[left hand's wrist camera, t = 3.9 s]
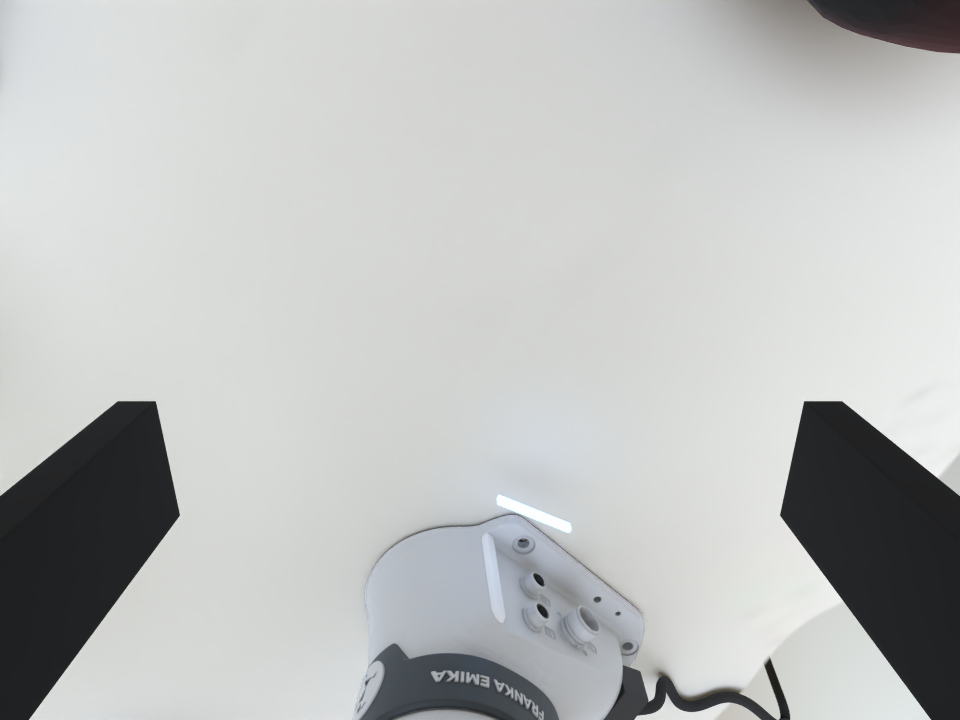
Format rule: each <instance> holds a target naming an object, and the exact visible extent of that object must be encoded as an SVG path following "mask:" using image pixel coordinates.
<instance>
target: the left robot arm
mask: <svg viewBox="0 0 960 720" xmlns="http://www.w3.org/2000/svg"><path fill="white" fill-rule="evenodd" d="M179 516H180V514H179V509H178V504H177V499H176V495H175V490H174V485H173V481H172V476H171V471H170V466H169V462H168V457H167V452H166V448H165V443H164V438H163V433H162V429H161V424H160V419H159V415H158V410H157V405H156V401H118V402H117V403H115V404H114V405H113V406H112V407H110V408H109V409H108V410H107V411H105V412H104V413H103V414H102V415H100V416H99V417H98V418H97V419H95V420H94V421H93V422H92V423H90V424H89V425H88V426H87V427H85V428H84V429H83V430H82V431H81V432H79V433H78V434H77V435H76V436H74V437H73V438H72V439H71V440H69V441H68V442H67V443H66V444H64V445H63V446H62V447H61V448H59V449H58V450H57V451H56V452H54V453H53V454H52V455H51V456H49V457H48V458H47V459H46V460H45V461H43V462H42V463H41V464H40V465H38V466H37V467H36V468H35V469H33V470H32V471H31V472H30V473H28V474H27V475H26V476H25V477H23V478H22V479H21V480H20V481H18V482H17V483H16V484H15V485H13V486H12V487H11V488H10V489H9V490H7V491H6V492H5V493H4V494H2V495H1V496H0V720H29V719H30V717H31V716H32V715H33V713H34V712H35V711H36V709H37V708H38V707H39V705H40V704H41V703H42V701H43V700H44V698H45V697H46V696H47V694H48V693H49V692H50V690H51V689H52V688H53V686H54V685H55V684H56V682H57V681H58V680H59V678H60V677H61V675H62V674H63V673H64V671H65V670H66V669H67V667H68V666H69V665H70V663H71V662H72V661H73V659H74V658H75V657H76V655H77V654H78V653H79V651H80V650H81V648H82V647H83V646H84V644H85V643H86V642H87V640H88V639H89V638H90V636H91V635H92V634H93V632H94V631H95V630H96V628H97V627H98V625H99V624H100V623H101V621H102V620H103V619H104V617H105V616H106V615H107V613H108V612H109V611H110V609H111V608H112V607H113V605H114V604H115V602H116V601H117V600H118V598H119V597H120V596H121V594H122V593H123V592H124V590H125V589H126V588H127V586H128V585H129V584H130V582H131V581H132V579H133V578H134V577H135V575H136V574H137V573H138V571H139V570H140V569H141V567H142V566H143V565H144V563H145V562H146V561H147V559H148V558H149V557H150V555H151V554H152V552H153V551H154V550H155V548H156V547H157V546H158V544H159V543H160V542H161V540H162V539H163V538H164V536H165V535H166V534H167V532H168V531H169V529H170V528H171V527H172V525H173V524H174V523H175V521H176V520H177V519H178V517H179ZM780 516H781V517H782V519H783V520H784V521H785V523H786V524H787V525H788V527H789V528H790V529H791V531H792V532H793V534H794V535H795V536H796V538H797V539H798V540H799V542H800V543H801V544H802V546H803V547H804V548H805V550H806V551H807V552H808V554H809V555H810V557H811V558H812V559H813V561H814V562H815V563H816V565H817V566H818V567H819V569H820V570H821V571H822V573H823V574H824V575H825V577H826V578H827V579H828V581H829V582H830V584H831V585H832V586H833V588H834V589H835V590H836V592H837V593H838V594H839V596H840V597H841V598H842V600H843V601H844V602H845V604H846V605H847V607H848V608H849V609H850V611H851V612H852V613H853V615H854V616H855V617H856V619H857V620H858V621H859V623H860V624H861V625H862V627H863V628H864V630H865V631H866V632H867V634H868V635H869V636H870V638H871V639H872V640H873V642H874V643H875V644H876V646H877V647H878V648H879V650H880V651H881V652H882V654H883V655H884V657H885V658H886V659H887V661H888V662H889V663H890V665H891V666H892V667H893V669H894V670H895V671H896V673H897V674H898V675H899V677H900V678H901V680H902V681H903V682H904V684H905V685H906V686H907V688H908V689H909V690H910V692H911V693H912V694H913V696H914V697H915V698H916V700H917V701H918V703H919V704H920V705H921V707H922V708H923V709H924V711H925V712H926V713H927V715H928V716H929V717H930V719H931V720H960V496H959V495H958V494H956V493H955V492H954V491H953V490H951V489H950V488H949V487H948V486H946V485H945V484H944V483H943V482H941V481H940V480H939V479H938V478H937V477H935V476H934V475H933V474H932V473H930V472H929V471H928V470H927V469H925V468H924V467H923V466H922V465H920V464H919V463H918V462H917V461H915V460H914V459H913V458H912V457H911V456H909V455H908V454H907V453H906V452H904V451H903V450H902V449H901V448H899V447H898V446H897V445H896V444H894V443H893V442H892V441H891V440H889V439H888V438H887V437H886V436H884V435H883V434H882V433H881V432H879V431H878V430H877V429H876V428H875V427H873V426H872V425H871V424H870V423H868V422H867V421H866V420H865V419H863V418H862V417H861V416H860V415H858V414H857V413H856V412H855V411H853V410H852V409H851V408H850V407H848V406H847V405H846V404H845V403H843V402H842V401H804V405H803V410H802V415H801V419H800V424H799V429H798V433H797V438H796V443H795V448H794V452H793V457H792V462H791V466H790V471H789V476H788V481H787V485H786V490H785V495H784V499H783V504H782V509H781V514H780Z"/></svg>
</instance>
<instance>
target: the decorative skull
mask: <svg viewBox="0 0 960 720" xmlns="http://www.w3.org/2000/svg"><path fill="white" fill-rule="evenodd" d="M808 2H809V3H810V4H811V5H812V6H813V7H814V8H815V9H816V10H817V11H818V12H819V13H820V14H821V15H822V16H823V17H824V18H826V19H828V20H829V21H831V22H833V23H835V24H837V25H838V26H840V27H842V28H845V29H847V30H850V31H853V32H855V33H858V34H861V35H865V36H868V37H872V38H876V39H879V40H883V41H887V42H891V43H895V44H899V45H903V46H907V47H913V48H918V49H924V50H929V51H935V52H946V53H960V0H808Z"/></svg>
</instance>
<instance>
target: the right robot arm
mask: <svg viewBox="0 0 960 720" xmlns="http://www.w3.org/2000/svg"><path fill="white" fill-rule="evenodd" d="M497 504H498V505H500V506H503V507H505V508H508V509H510V510H513V511H515V512H518V513H520V514H523V515H525V516H528V517H530V518H533V519H535V520H538V521H540V522H543V523H545V524H548V525H550V526H553V527H555V528H558V529H560V530H563V531H565V532H568V533H570V531H571V525H570V523H568V522H566V521H563V520H561V519H558V518H556V517H553V516H551V515H549V514H546V513H544V512H541V511H539V510H536V509H534V508H531V507H529V506H526V505H524V504H521V503H519V502H516V501H514V500H511V499H509V498H506V497H504V496H501V495H498V497H497ZM520 539H527V541H525V542H520V541H519V540H520ZM365 606H366V611H367V616H368V625H369V656H368V670H367V671H366V674H365V676H364V678H363V681H362V684H361V687H360V690H359V694H358V697H357V701H356V706H355V710H354V715H353V720H634V719H635V718H636V716H638V715H646V714H651V713H654V712H656V711H658V710H659V709H660V708H661V707H662V706H663V704H664V702H665V698H666V692H667V694H668V696H669V698H670V700H671V701H672V703H673V704H674V705H675V706H676V707H677V708H679V709H680V710H683V711H687V712H696V711H701V710H704V709H707V708H710V707H712V706H715V705H718V704H721V703H727V702H730V703H736V704H739V705H742V706H744V707H746V708H747V709H749V710H750V711H752V712H753V713H754V714H755V715H757V716H758V717H759V718H760V719H761V720H776V719H775V718H773V717H772V716H771V715H770V714H769V713H768V712H766V711H765V710H764V709H763V708H762V707H761V706H760V705H758V704H757V703H756V702H754V701H753V700H751V699H750V698H748V697H746V696H744V695H741V694H738V693H734V692H721V693H717V694H714V695H711V696H708V697H706V698H703V699H700V700H697V701H685V700H683V699H681V698H680V697H679V695H678V694H677V692H676V689H675V687H674V685H673V683H672V682H671V680H670V679H669V678H667V677H661V678H659V679H658V681H657V684H656V692H655V697H654V699H653V700H651V701H649V702H648V697H647V694H646V690H645V687H644V683H643V680H642V676H641V673H640V671H638V670H635V669H632V668H630V667H629V666H630V665H631V663H632V662H633V660H634V659H635V657H636V655H637V653H638V651H639V649H640V646H641V644H642V641H643V636H644V629H645V624H644V619H643V615H642V614H641V613H640V612H639V611H638V610H637V609H636V608H635V607H634V606H633V605H631V604H630V603H629V602H628V601H626V600H625V599H624V598H623V597H621V596H620V595H619V594H618V593H616V592H615V591H614V590H613V589H611V588H610V587H609V586H608V585H606V584H605V583H604V582H603V581H601V580H600V579H599V578H598V577H596V576H595V575H594V574H593V573H591V572H590V571H589V570H588V569H586V568H585V567H584V566H583V565H581V564H580V563H579V562H578V561H576V560H575V559H574V558H573V557H571V556H570V555H569V554H568V553H566V552H565V551H564V550H563V549H561V548H560V547H559V546H558V545H556V544H555V543H554V542H553V541H551V540H550V539H549V538H548V537H546V536H545V535H544V534H543V533H541V532H540V531H539V530H538V529H536V528H535V527H534V526H533V525H531V524H530V523H529V522H528V521H526V520H525V519H524V518H522V517H520V516H517V515H506V516H502V517H499V518H496V519H493V520H490V521H488V522H485V523H483V524H480V525H476V526H467V527H444V528H437V529H432V530H427V531H424V532H421V533H418V534H415V535H413V536H410V537H408V538H406V539H404V540H402V541H401V542H399V543H397V544H396V545H395V546H393V547H392V548H391V549H389V550H388V551H387V552H386V553H385V554H384V555H383V556H382V557H381V558H380V559H379V561H378V562H377V563H376V565H375V566H374V568H373V570H372V571H371V573H370V576H369V578H368V581H367V585H366V590H365ZM628 642H629V643H628ZM764 667H765V669H766V672H767V675H768V678H769V680H770V683H771V686H772V689H773V692H774V694H775V697H776V700H777V703H778V706H779V710H780V719H779V720H790V711H789V708H788V704H787V701H786V698H785V696H784V693H783V690H782V688H781V685H780V683H779V680H778V677H777V675H776V672H775V669H774V667H773V664H772V661H771V659H770V657H769V658H768V659H767V660H766V662H765V663H764Z"/></svg>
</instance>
